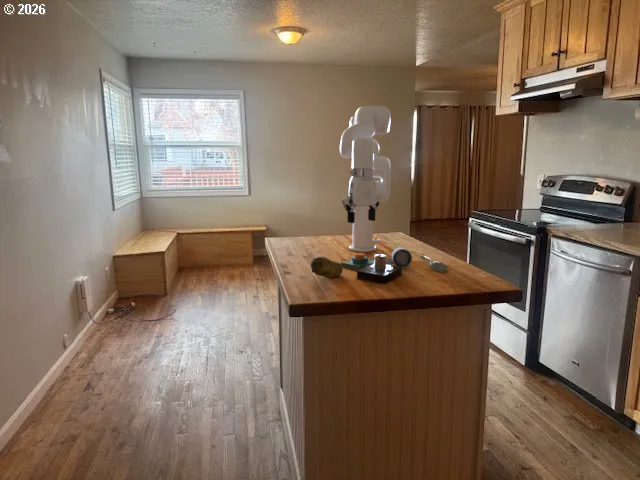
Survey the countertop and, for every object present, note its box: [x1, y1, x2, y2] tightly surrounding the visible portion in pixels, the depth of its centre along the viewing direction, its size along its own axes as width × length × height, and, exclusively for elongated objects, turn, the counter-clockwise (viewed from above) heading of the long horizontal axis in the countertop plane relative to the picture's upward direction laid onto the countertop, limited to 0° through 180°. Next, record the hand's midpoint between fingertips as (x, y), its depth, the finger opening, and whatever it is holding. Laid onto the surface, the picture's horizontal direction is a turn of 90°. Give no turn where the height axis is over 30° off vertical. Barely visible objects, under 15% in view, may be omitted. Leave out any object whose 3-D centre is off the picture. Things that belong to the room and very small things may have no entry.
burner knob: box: [374, 253, 387, 270], centre depth 159 cm, size 4×4×5 cm
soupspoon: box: [420, 253, 448, 273], centre depth 177 cm, size 22×3×7 cm
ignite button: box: [355, 252, 366, 259], centre depth 174 cm, size 4×4×2 cm
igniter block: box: [340, 255, 375, 271], centre depth 175 cm, size 12×10×4 cm
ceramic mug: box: [386, 246, 413, 269], centre depth 174 cm, size 11×8×8 cm
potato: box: [310, 256, 344, 279], centre depth 158 cm, size 8×13×8 cm, turn 108°
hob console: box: [356, 263, 403, 285], centre depth 160 cm, size 14×11×3 cm
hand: (361, 221), depth 159 cm, fingers open, 9 cm apart
